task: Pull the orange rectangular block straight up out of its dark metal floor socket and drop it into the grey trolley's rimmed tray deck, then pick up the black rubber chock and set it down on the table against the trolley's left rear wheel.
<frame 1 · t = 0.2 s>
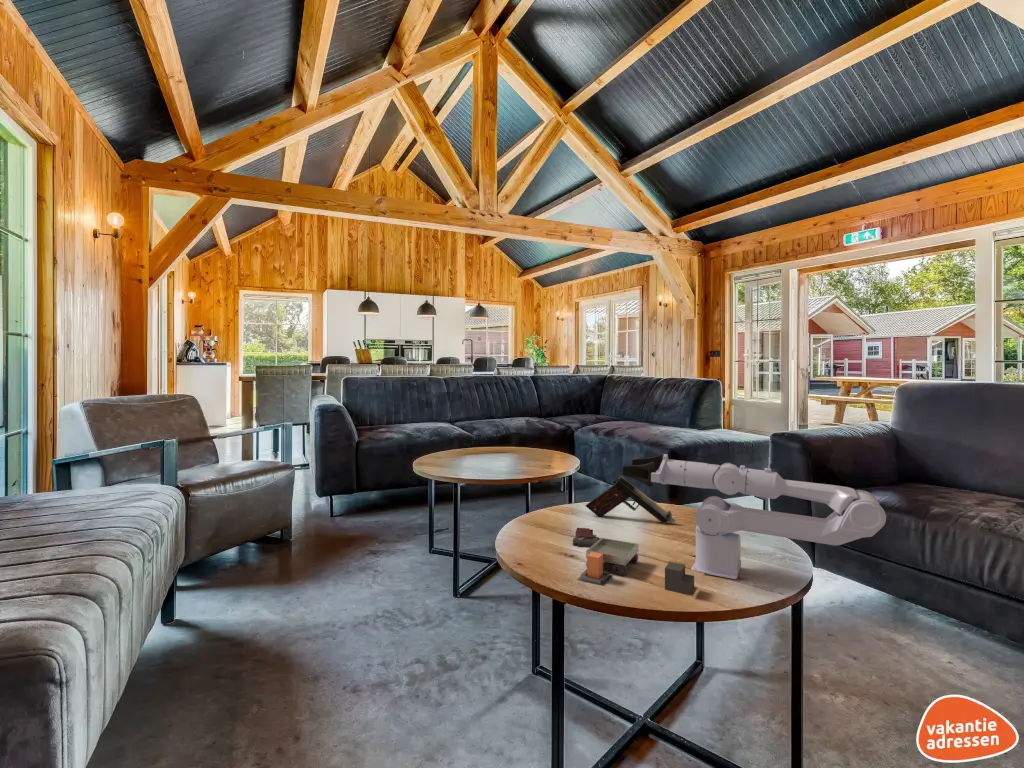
hand: (628, 467, 125), 22 cm above the table, tool horizontal, fingers open, 7 cm apart
chock: (679, 591, 105), on the table
socket: (595, 580, 111), on the table
trolley: (612, 567, 118), on the table
handgun: (629, 520, 155), on the table
orange rectangular block: (595, 577, 111), resting on socket
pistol: (602, 545, 135), on the table
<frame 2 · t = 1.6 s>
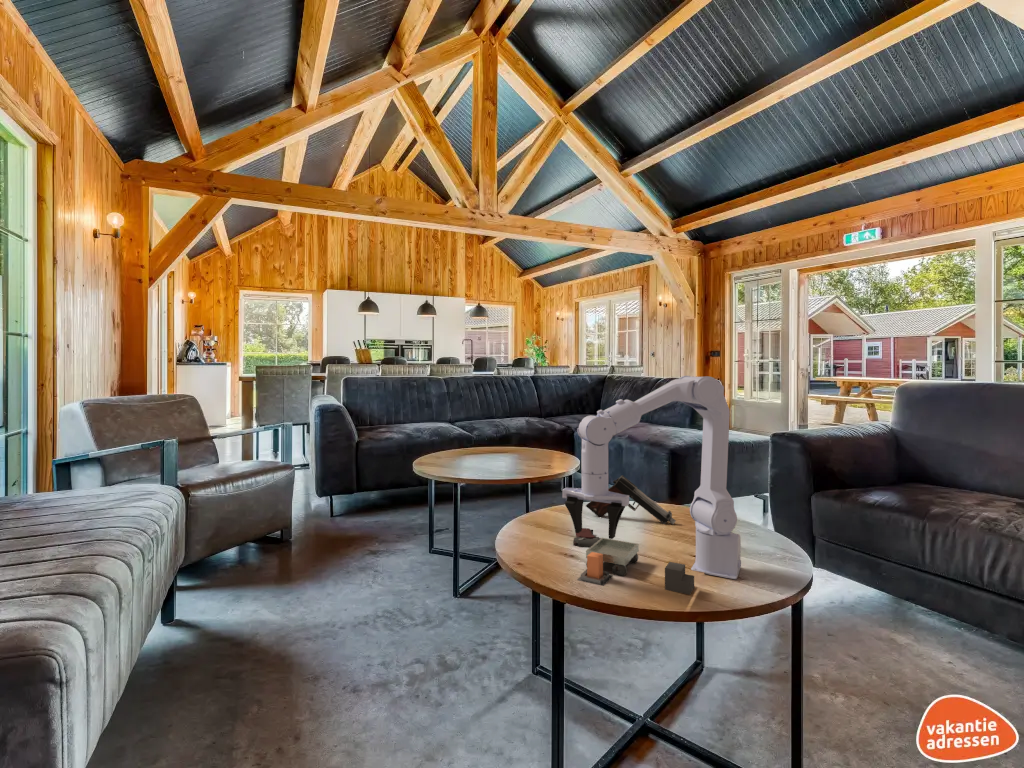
hand: (595, 534, 111), 10 cm above the table, tool pointing down, fingers open, 7 cm apart
nothing on the table moved.
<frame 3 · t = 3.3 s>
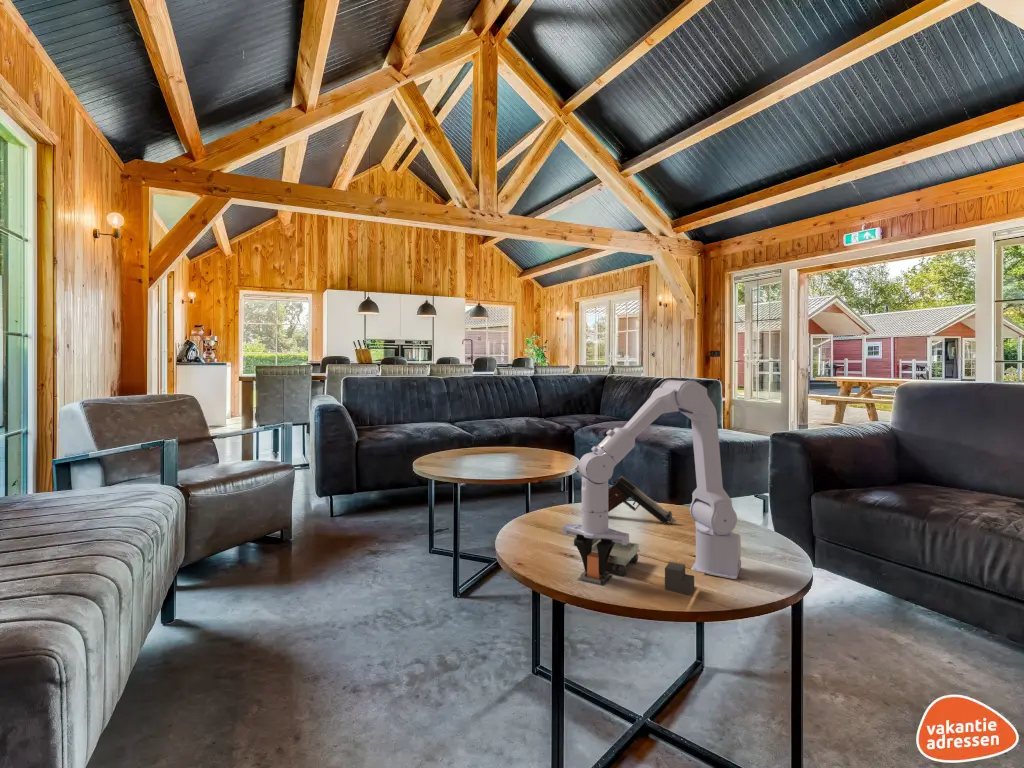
hand: (595, 571, 111), 2 cm above the table, tool pointing down, fingers closed on orange rectangular block, 3 cm apart
orange rectangular block: (595, 577, 111), point 1 cm above the table, touching gripper, socket
everything else where it was.
when the fingers open (6 cm above the table, at t = 5.3 s): orange rectangular block stays where it is, resting on trolley.
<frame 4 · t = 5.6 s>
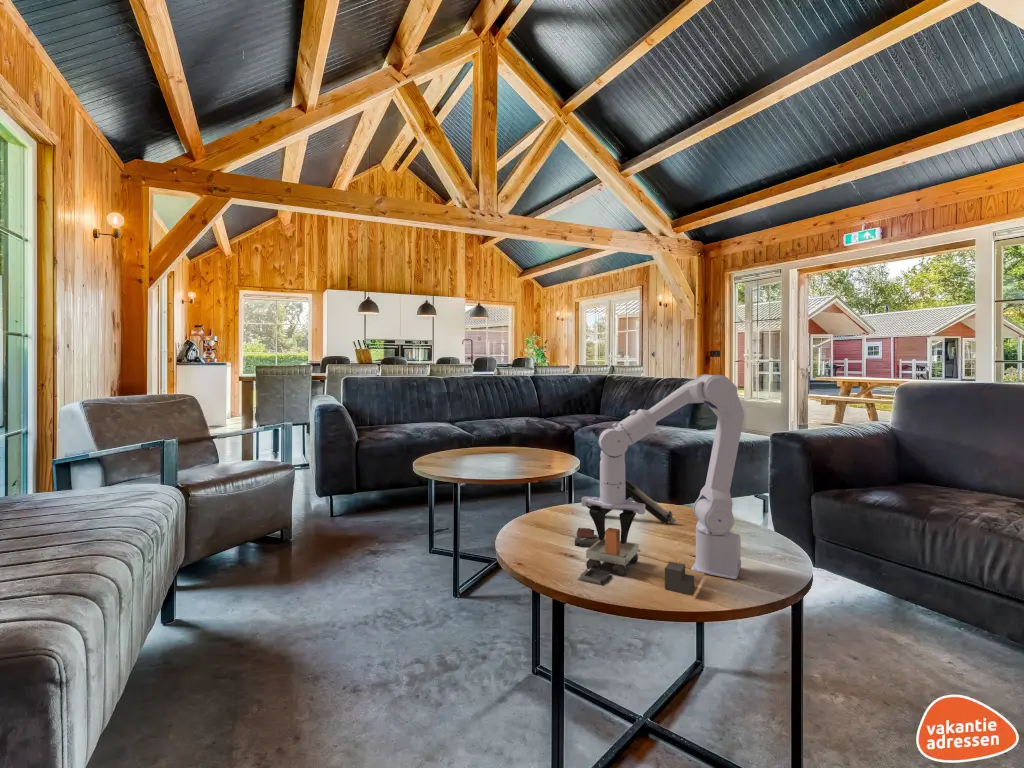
hand: (612, 540, 118), 6 cm above the table, tool pointing down, fingers open, 5 cm apart
orange rectangular block: (612, 551, 118), point 4 cm above the table, touching trolley
everything else where it was.
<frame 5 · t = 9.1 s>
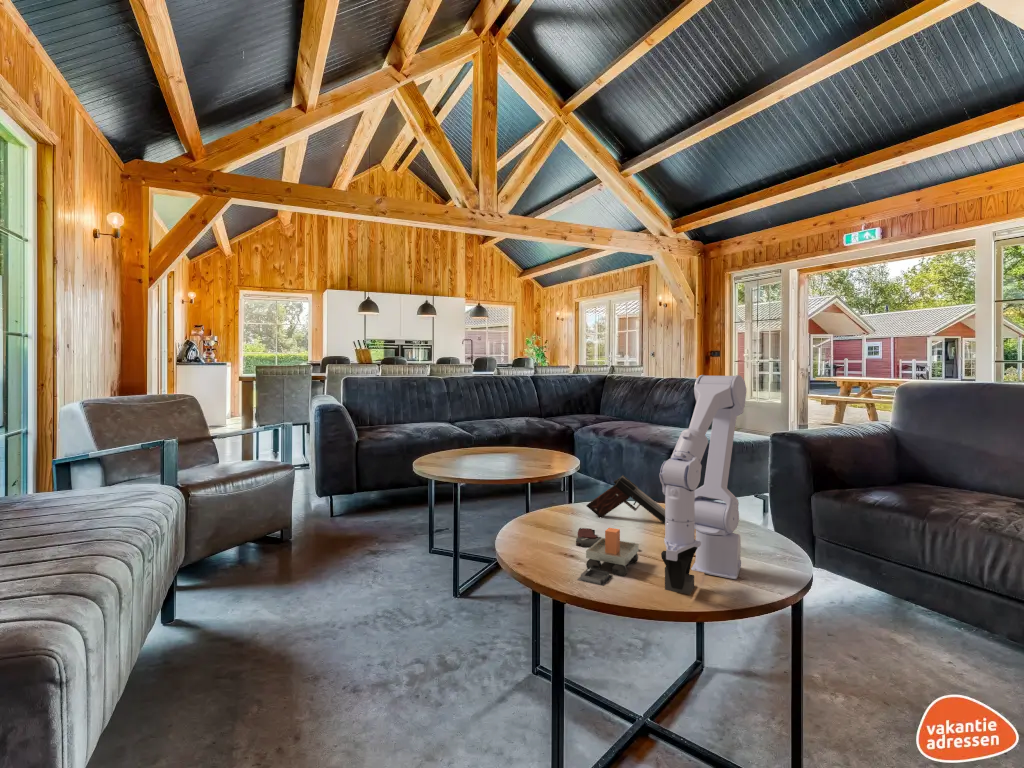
hand: (679, 583, 105), 1 cm above the table, tool pointing down, fingers closed on chock, 4 cm apart
chock: (679, 590, 105), on the table, touching gripper
everything else where it was.
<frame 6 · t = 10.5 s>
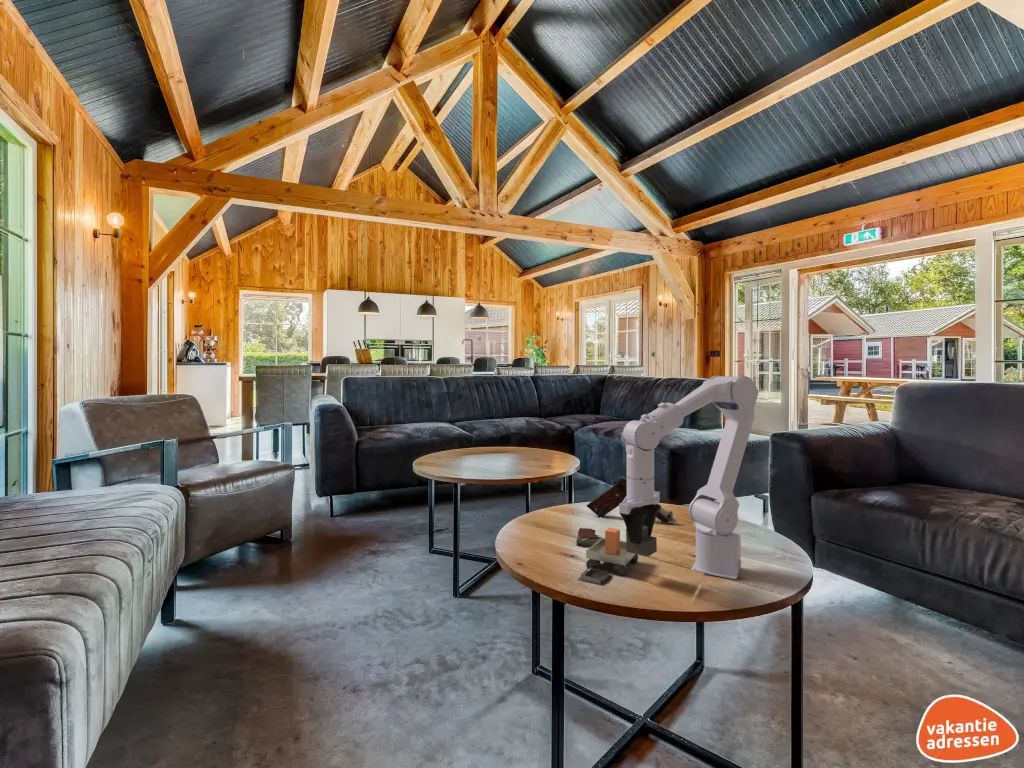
hand: (640, 540, 110), 9 cm above the table, tool pointing down, fingers closed on chock, 4 cm apart
chock: (641, 551, 110), point 6 cm above the table, touching gripper
everything else where it was.
when the fingers open (3 cm above the table, at t = 12.1 s): chock stays where it is, on the table.
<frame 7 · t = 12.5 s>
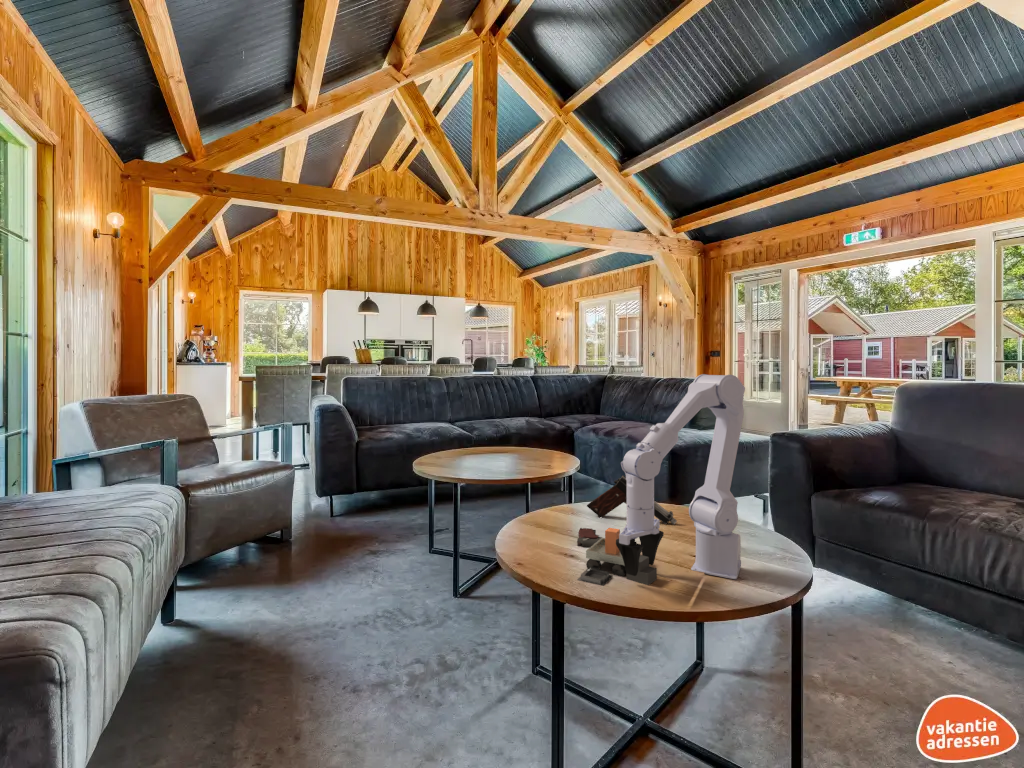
hand: (640, 568, 110), 3 cm above the table, tool pointing down, fingers open, 7 cm apart
chock: (641, 581, 110), on the table
everything else where it was.
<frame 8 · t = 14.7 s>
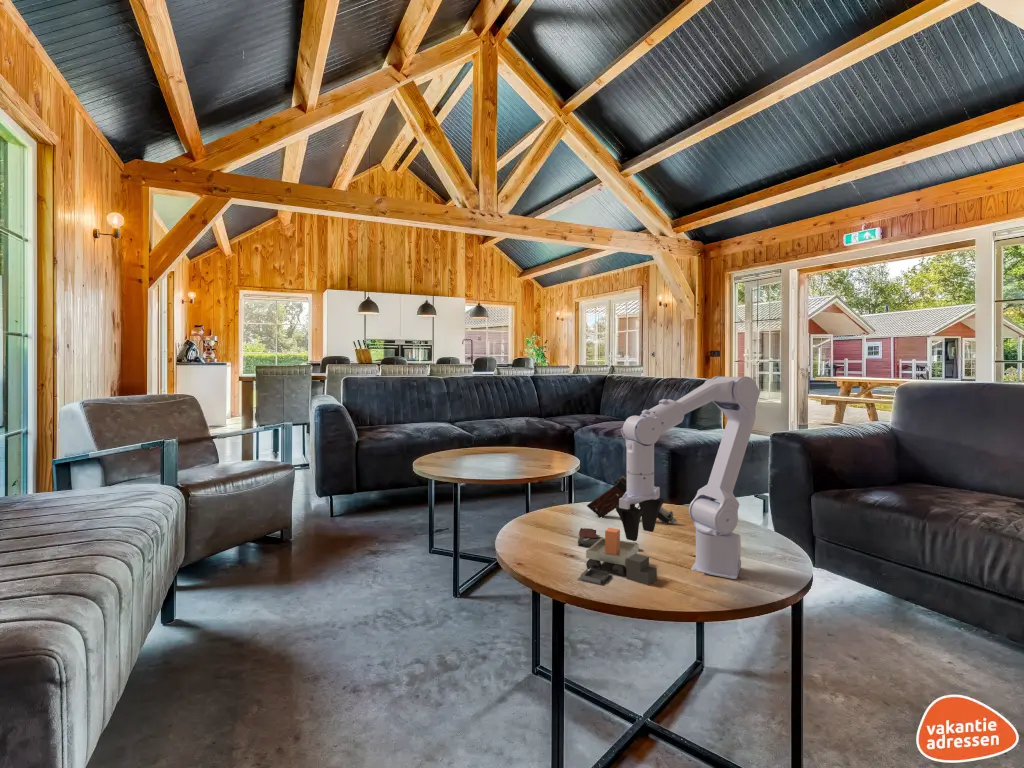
hand: (640, 535, 110), 10 cm above the table, tool pointing down, fingers open, 7 cm apart
at the end: orange rectangular block inside the target area on the trolley (0.1 cm from its centre), point 3.7 cm above the trolley's base; chock 0.4 cm from the target spot, on the table; chock tilted 0° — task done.
